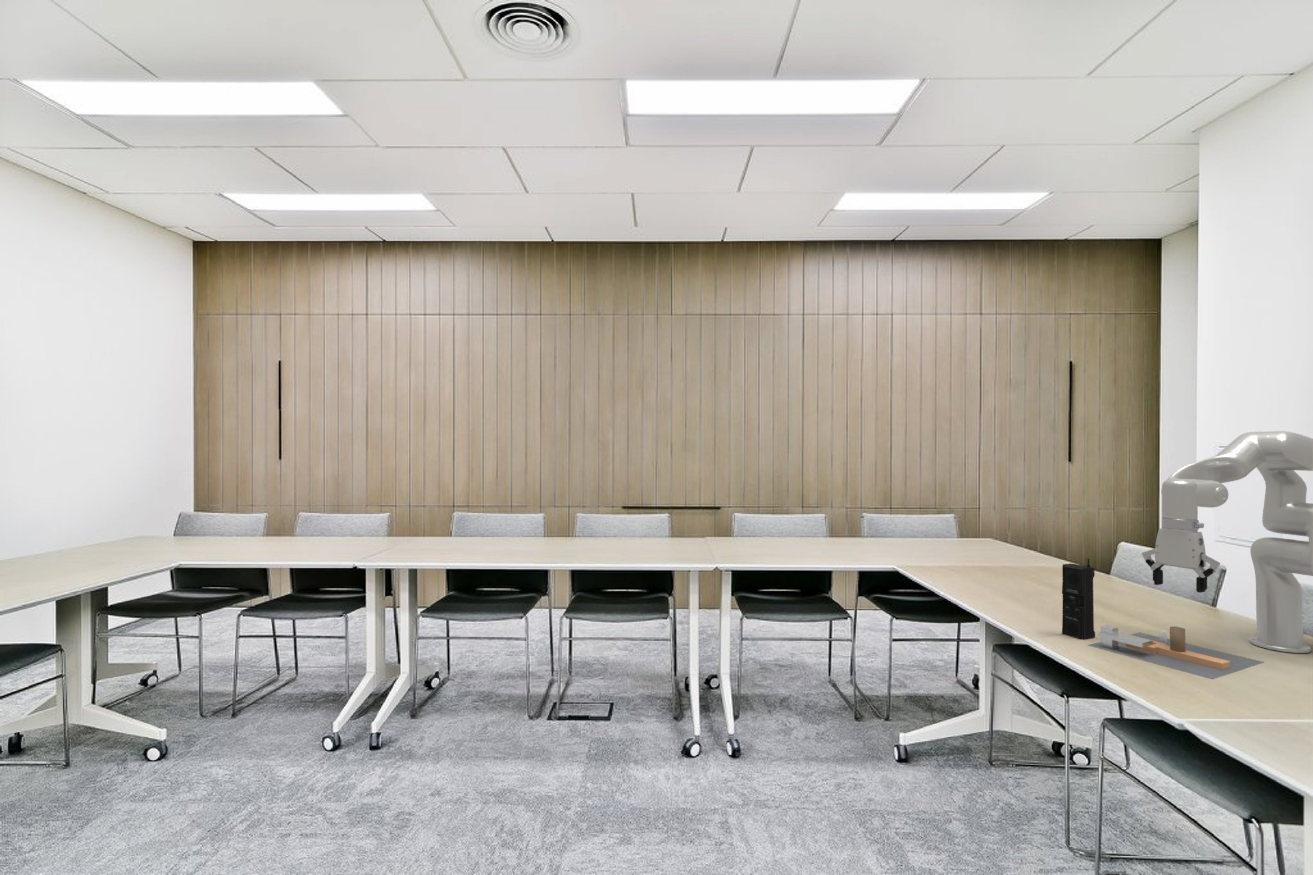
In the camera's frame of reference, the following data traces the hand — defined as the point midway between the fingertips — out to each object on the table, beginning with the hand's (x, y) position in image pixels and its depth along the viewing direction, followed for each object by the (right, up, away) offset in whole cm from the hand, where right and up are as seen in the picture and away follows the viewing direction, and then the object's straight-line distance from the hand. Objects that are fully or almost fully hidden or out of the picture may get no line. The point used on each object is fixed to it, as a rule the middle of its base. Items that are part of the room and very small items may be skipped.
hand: (1179, 588), depth 169 cm
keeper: (-11, -20, +5) cm, 24 cm away
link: (-1, -19, 0) cm, 19 cm away
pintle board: (0, -20, +2) cm, 20 cm away
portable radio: (-15, -21, +19) cm, 32 cm away
